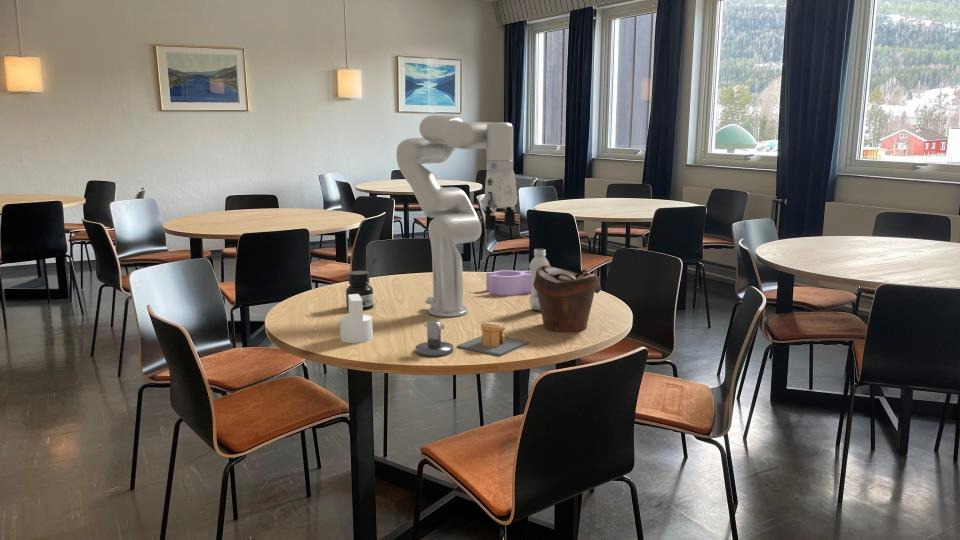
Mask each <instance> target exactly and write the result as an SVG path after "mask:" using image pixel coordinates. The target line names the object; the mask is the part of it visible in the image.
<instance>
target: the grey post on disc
mask: <svg viewBox="0 0 960 540" xmlns="http://www.w3.org/2000/svg"><path fill="white" fill-rule="evenodd" d="M441 323H442V322H441V320H439V319H437V320H435V319H433V320H427V321H424V322H423V327H426V333H427V335H426V336H427V338H426V340H427V341H425V342H422V343H419V344H417V345H416V346H415V353H416V355H419V356H422V357H426V358H427V357H428V358H438V357H445V356H448V355H450V354H451V355H452V354H453V352H454V344H452V343H449V342H447V341H446V342H445V341H442V330H444V329H445V324H441Z"/></svg>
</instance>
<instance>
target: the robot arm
mask: <svg viewBox="0 0 960 540" xmlns="http://www.w3.org/2000/svg"><path fill="white" fill-rule="evenodd" d="M418 130H419V133H420V135H421V136H422V137H411V138H406V139H404V140H402V141H400V142H399V143H398V145H397V147H396V153H395V154H396V161H397V162H396V163H397V166H398V168H399V171H400V172H401V174H402V176H403V178H404V179H405V181H406V182H407V183H408V184H409V186H410V187H411V189H412V192H413V194H414V196H415V198H416V200H417V202H418V204H419V206H420V208H421V211H422V212H423V214H424V215H425V216H426V217H428V218H430V219H431V220H430V222H429V224H428V237H429V240H430V242H429V243H430V246H431V256H432V257H431V260H432V261H431V263H432V289H433V290H432V293H433V295H432V296H433V297H432V296H428V297H427V298H426V299H425V304H428V305H430V308H429V309H428V314H430V315H432V316H435V317H443V318H447V317H448V318H450V317H451V318H453V317H458V316H459V317H461V316H464V315H466V314H467V313H468V312H469V310H468V307H467V306H464V294H463V293H464V292H463V291H464V290H463V289H464V288H463V287H464V285H463V283H464V282H463V258H462V257H463V256H462V255H461V252H460V250H459V249H458V248H457V246H456V245H460V244H468V243H473V242H474V243H475V241H477V240H479V238H480V237H481V235H482V223H481V221H480V218H479V216H478V214H477V212H476V211H475V208H474V206H473V204H472V202H471V201H470V198H469V197H468V195H467V194H466V192H465V191H464V190H463V189H461V188H459V187H455V186H450V187H448V186H447V187H445V186H444V187H443V186H441V185H440V184H439V182H438V181H437V180H438V179H436V176H435V175H434V174H433V172H432V171H430V170H429V169H428V168H426V167H425V166H424V164H426V165H427V164H442V163H444V162H447V160H448V159H449V158H450V157H451V156H452V155H453V153H454V151H455V150H456V149H460V150H476V149H478V150H480V149H482V150H486V174H485V176H486V177H485V186H484V197H483V198H482V199H481V200H480V204H481V209H482V212H483V215H484V217H485V218H484V219H485V220H484V221H485V223H484V224H485V226H484V229H485V230H489V231H490V230H491V231H495V230H496V229H497V226H496V225H497V219H496V218H497V217H496V215H495V214H496V211H497V209H504V210H505V211H504V226H506V227H507V226H508V227H514V226H515V225H516V219H515V217H516V211H517V206H518V200H519V195H517V193H518V192H517V183H516V182H517V181H516V175H515V171H514V126H513V124H512V123H510V122H508V121H507V122H506V121H505V122H504V121H503V122H501V121H500V122H499V121H497V122H492V121H490V122H489V121H488V122H487V121H469V122H468V121H463V119H462V118H460V117H459V116H458V115H453V114H432V115H428V116H426V117H424V118H423V119H422V120H421V122H420V124H419V128H418ZM432 218H433V219H432Z"/></svg>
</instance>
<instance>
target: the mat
mask: <svg viewBox="0 0 960 540" xmlns="http://www.w3.org/2000/svg"><path fill="white" fill-rule="evenodd" d="M481 336H482V335H479V336H477V337H475V338H472V339H470V340H467V341H465V342H462V343H460V344H458V345H457V346H456V348H458V349H462V350H467V351H473V352H476V353H477V352H478V353H482V354H486V355H487V354H488V355H491V356H498V357H502V356H504V355H506V354H508V353H510V352H513V351H515V350H518V349H520V348H522V347H524V346H526V345H528V344H529V343H530V341H529V340H524V339H520V338H519V339H518V338H515V337H508V336H505V344H502V342H500V341H499V347H488V346H483V345H482V344H481Z"/></svg>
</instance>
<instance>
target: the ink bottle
mask: <svg viewBox="0 0 960 540" xmlns="http://www.w3.org/2000/svg"><path fill="white" fill-rule="evenodd" d="M347 275H348V276H347V278H348V284H349V285H348V287H346V289H345V298H346V299H345V300H346V301H345V302H346V303H345V304H346V309H348V310H349V303H348V295H350V294H359V295H360V297H361V299H362V305H363V311H365V310H369V309H372V308H373V307H374V289H373V287H372V286H371V285H370V272H369V271H366V270H354V271H349V272H348V274H347Z"/></svg>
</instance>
